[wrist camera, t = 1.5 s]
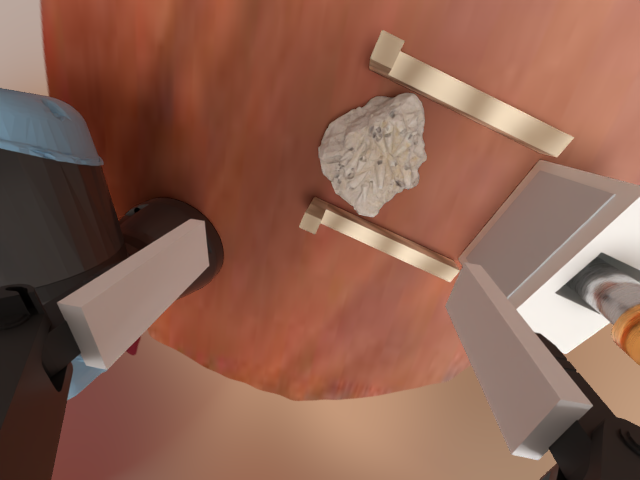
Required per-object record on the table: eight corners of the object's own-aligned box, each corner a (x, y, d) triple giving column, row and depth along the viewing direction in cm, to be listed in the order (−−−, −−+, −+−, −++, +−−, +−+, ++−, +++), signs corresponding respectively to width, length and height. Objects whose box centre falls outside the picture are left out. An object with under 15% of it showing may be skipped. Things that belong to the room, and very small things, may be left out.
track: (309, 209, 34) (298, 227, 29) (378, 47, 26) (382, 29, 20) (444, 271, 35) (458, 299, 30) (556, 135, 26) (604, 141, 21)
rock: (352, 211, 34) (350, 229, 29) (314, 132, 30) (303, 136, 25) (438, 175, 30) (453, 188, 25) (406, 79, 26) (416, 72, 21)
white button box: (456, 258, 34) (498, 323, 23) (538, 158, 28) (647, 187, 17) (503, 279, 34) (566, 354, 24) (595, 186, 28) (737, 231, 17)
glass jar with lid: (533, 277, 24) (612, 353, 16) (577, 234, 21) (692, 301, 14) (578, 297, 24) (676, 383, 16) (626, 258, 22) (766, 335, 14)
